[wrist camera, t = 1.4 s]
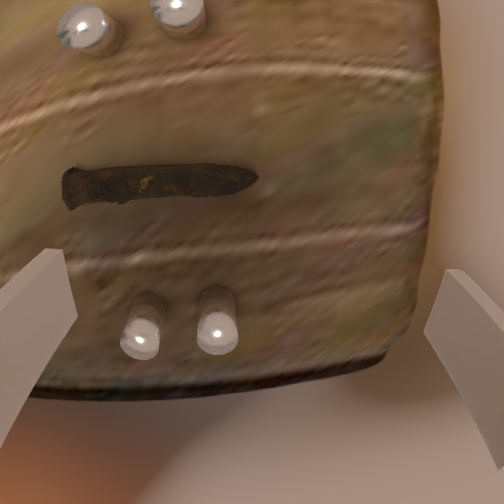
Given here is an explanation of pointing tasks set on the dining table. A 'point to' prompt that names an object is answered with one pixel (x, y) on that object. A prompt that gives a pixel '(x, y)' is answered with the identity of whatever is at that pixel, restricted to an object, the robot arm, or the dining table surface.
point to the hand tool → (152, 183)
